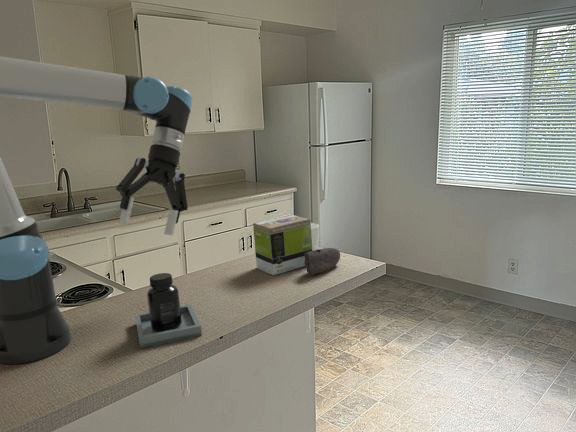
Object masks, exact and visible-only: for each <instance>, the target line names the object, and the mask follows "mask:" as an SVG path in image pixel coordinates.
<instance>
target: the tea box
mask: <svg viewBox="0 0 576 432" xmlns="http://www.w3.org/2000/svg"><path fill="white" fill-rule="evenodd" d="M311 223H312V222H311V219H309V218H306V217H302V216H298V215H293V214H290V215H289V214H288V215H285V216H281V217H276V218H271V219H267V220H262V221H257V222H253V223H252V227H253V228H252V229H253V238H254V239H253V240H254V252H255V253H254V254H255V262H256V267H257V269H259V270H261V271H263V272H265V273H267V274H269V275H272V276H276V275H279V274H283V273H287V272H290V271H293V270H296V269H301V268H303V267H306V266H305V256H304V254H305V253H307V252H310V251H312V238H311Z"/></svg>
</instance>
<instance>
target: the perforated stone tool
mask: <svg viewBox="0 0 576 432" xmlns="http://www.w3.org/2000/svg"><path fill="white" fill-rule="evenodd" d="M304 256H305V266H304V267H306V272H307V273H308V274H310V276H314V275H318V274H322V273H324V272H326V271H328V270H331V269H332V268H335V266H337V264H339V262H340V260H341V252H340V250H339V249H338V248H337V249H336V248H334V247H326V248H325V247H323V248H318V249H317V250H315V251H310V252H307V253H305V254H304Z"/></svg>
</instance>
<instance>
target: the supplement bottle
mask: <svg viewBox="0 0 576 432" xmlns="http://www.w3.org/2000/svg"><path fill="white" fill-rule="evenodd" d="M172 276H173V275H172V274H171V273H168V272H164V273H163V272H161V273H157V274H152V275H151V276H150V277H149V287H150V288H149V289H148V290H147V293H146V296H147V297H146V298H147V299H146V300H147V305H148V312H149V315H150V322H151V328H152V329H153V330H154V331H156V332H163V331H168V330H173V329H177V328H178V327H179V326H180V325H181V323H182V320H181V311H180V306H181V305H180V303H181V302H180V296H179V289H178V287H177V286H176V285H174V284H173V283H174V281H173V277H172Z"/></svg>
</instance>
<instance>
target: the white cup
mask: <svg viewBox="0 0 576 432" xmlns="http://www.w3.org/2000/svg"><path fill="white" fill-rule="evenodd" d="M310 223H311V238H312V251H315V250H317V249H319V244H320V224H318V223H314V222H310Z"/></svg>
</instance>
